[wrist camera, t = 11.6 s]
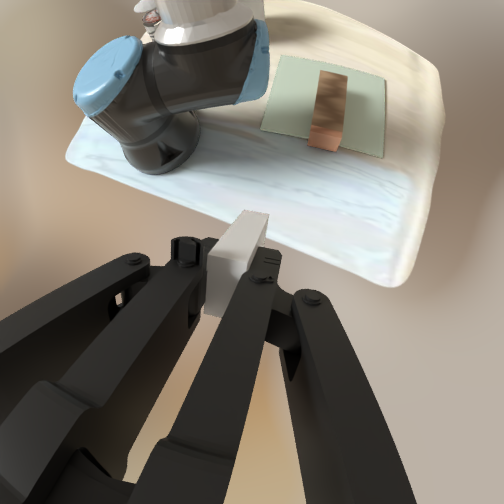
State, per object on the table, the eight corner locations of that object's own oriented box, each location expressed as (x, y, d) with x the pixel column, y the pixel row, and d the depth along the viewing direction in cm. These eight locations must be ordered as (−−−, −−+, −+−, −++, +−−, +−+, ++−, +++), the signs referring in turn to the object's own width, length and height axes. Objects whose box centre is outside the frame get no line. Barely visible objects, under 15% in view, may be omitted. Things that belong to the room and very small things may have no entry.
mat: (260, 130, 45) (260, 128, 45) (281, 56, 47) (281, 54, 46) (381, 158, 43) (383, 157, 42) (383, 79, 44) (384, 78, 43)
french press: (157, 31, 51) (123, -34, 27) (198, 24, 50) (172, -49, 25) (146, 54, 51) (103, -14, 26) (189, 47, 49) (155, -32, 25)
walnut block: (310, 131, 39) (320, 69, 40) (307, 145, 44) (317, 86, 45) (341, 138, 38) (347, 76, 39) (336, 152, 43) (343, 91, 44)
